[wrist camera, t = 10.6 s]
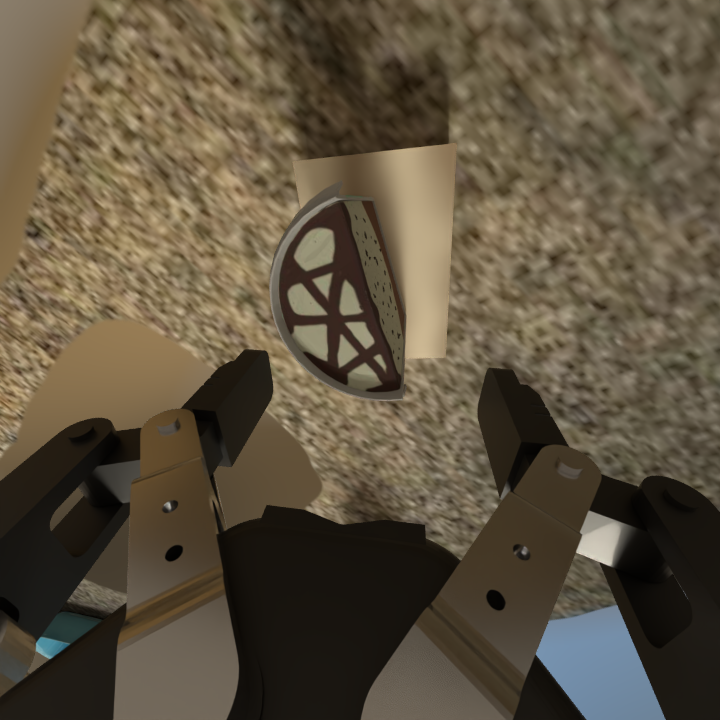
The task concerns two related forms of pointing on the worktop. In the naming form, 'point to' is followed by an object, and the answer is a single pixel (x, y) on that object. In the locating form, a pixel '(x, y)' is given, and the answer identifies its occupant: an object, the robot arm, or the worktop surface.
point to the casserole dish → (64, 632)
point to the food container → (341, 297)
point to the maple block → (403, 226)
